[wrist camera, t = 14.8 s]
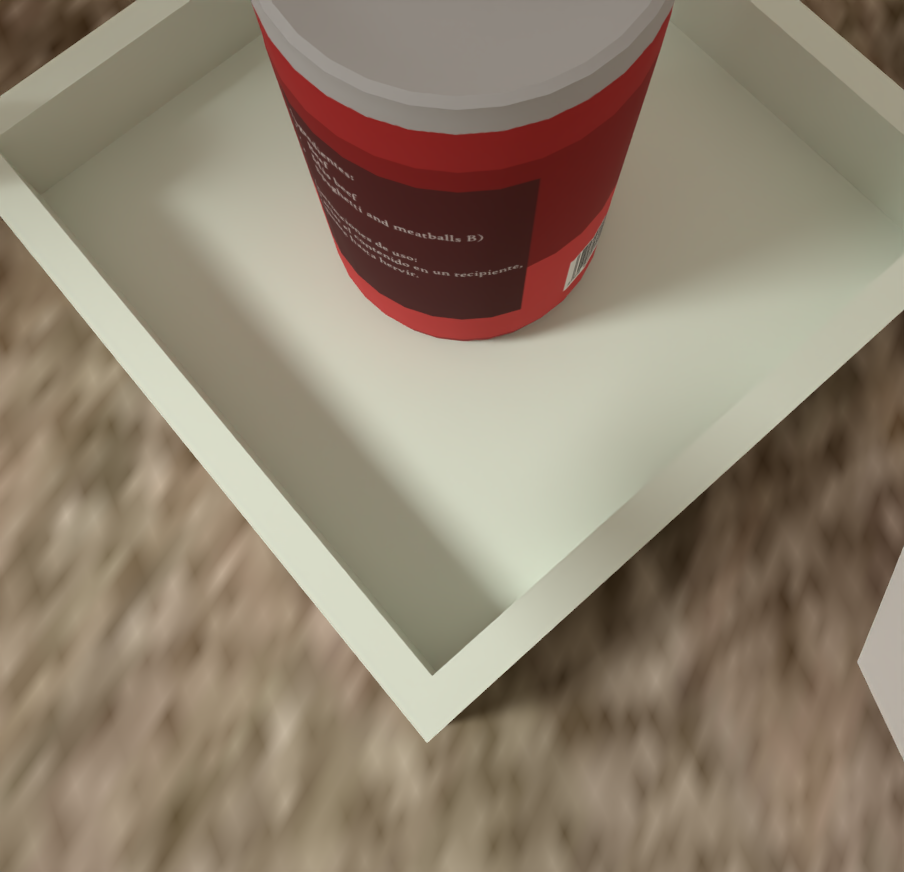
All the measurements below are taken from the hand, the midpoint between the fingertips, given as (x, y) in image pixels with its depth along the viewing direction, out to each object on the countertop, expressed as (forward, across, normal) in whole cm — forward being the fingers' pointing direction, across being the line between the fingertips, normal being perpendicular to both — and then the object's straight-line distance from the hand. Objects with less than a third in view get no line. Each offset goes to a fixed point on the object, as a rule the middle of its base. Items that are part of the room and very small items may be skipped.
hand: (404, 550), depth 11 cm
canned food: (+15, 0, 0) cm, 15 cm away
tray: (+16, 0, 0) cm, 16 cm away
